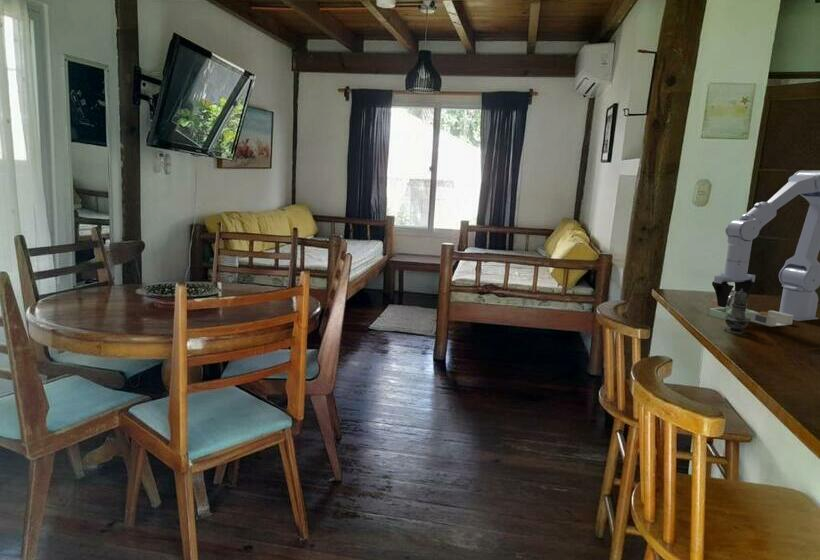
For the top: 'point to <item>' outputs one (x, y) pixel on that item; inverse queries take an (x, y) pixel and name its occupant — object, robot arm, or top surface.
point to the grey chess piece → (738, 314)
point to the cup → (716, 304)
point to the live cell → (729, 304)
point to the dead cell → (732, 293)
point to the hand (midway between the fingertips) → (730, 305)
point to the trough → (720, 314)
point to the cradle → (771, 318)
